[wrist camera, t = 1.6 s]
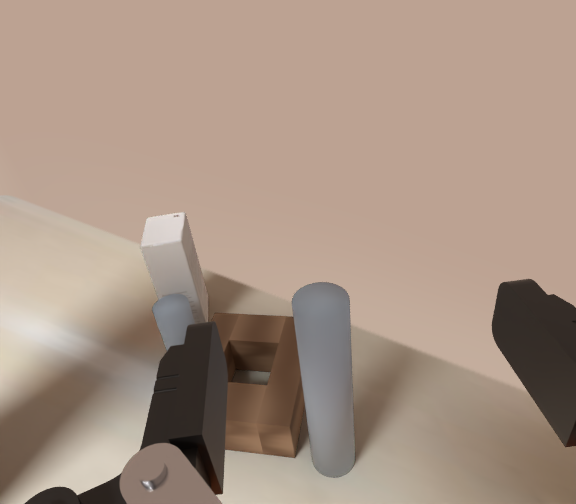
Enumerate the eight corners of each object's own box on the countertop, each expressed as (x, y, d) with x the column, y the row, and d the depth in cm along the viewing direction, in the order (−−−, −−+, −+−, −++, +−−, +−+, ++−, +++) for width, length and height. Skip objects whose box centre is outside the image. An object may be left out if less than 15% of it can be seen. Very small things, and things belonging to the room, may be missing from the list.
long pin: (308, 474, 34) (286, 317, 25) (314, 434, 37) (297, 281, 28) (353, 480, 33) (347, 320, 24) (356, 439, 36) (351, 283, 27)
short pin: (165, 368, 45) (146, 316, 41) (178, 344, 47) (161, 293, 43) (196, 371, 44) (180, 318, 40) (208, 346, 47) (193, 294, 43)
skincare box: (174, 303, 53) (146, 216, 47) (209, 297, 53) (186, 210, 47) (169, 338, 48) (138, 246, 42) (209, 331, 48) (183, 239, 42)
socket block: (178, 443, 37) (166, 413, 35) (222, 341, 47) (215, 312, 45) (294, 457, 35) (289, 426, 33) (315, 347, 45) (312, 317, 43)
